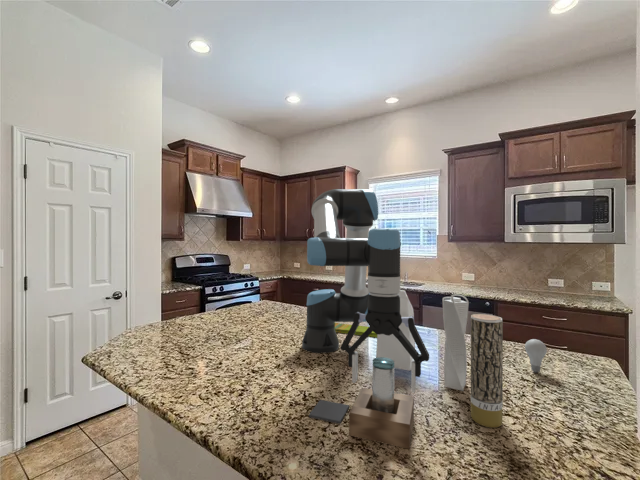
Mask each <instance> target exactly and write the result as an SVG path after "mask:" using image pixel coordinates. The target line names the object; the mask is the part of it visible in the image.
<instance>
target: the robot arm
mask: <svg viewBox="0 0 640 480" xmlns="http://www.w3.org/2000/svg"><path fill="white" fill-rule="evenodd" d="M311 215H312V216H311V217H313V218H312V219H314V220H313V222H314V223H313V224H314V226H313V227H314V229H313V232H314V234H313V235H314V236H313V237H310V238H308V239H307V240H306V241H307V245H306V246H307V247H306V251H307V252H306V260H307V261H306V262H307V264H308V265H310V266H319V267H344V285H343V286H342V287H341V288H340V292H336V291H335V290H334V289H332V288H328V289H326V288H325V289H318V290H317V289H316V290H313V291H311V292H309V293H308V294H307V297H306V304H305V305H306V329H305V332H304V334H303V339H302V341H301V348H302V349H303V351H305V352H309V353H314V354H329V353H333V352H336V351H337V350H339V348H340V349H341V351H343V352H346V353H347V356H348V357H347V365H348V367H349V368H351V369H352V370H351V382H352V383H353V384H356V382H357V381H358V379H359V352H358V351H356V350H357V349H358V348H359V346H360V345H361V344H362V343H364V341H366V339H367V338H369V337H368V336H369V335H370V334H371V333H372V331H373V332H375V333H376V334H379V335H380V334H384V335H389V336H390V335H392V334H393V335H394V336H395V337H396V338H397V339H398V340H399V341H400V343H401V344H402V345H403V347H404V348H405V349H406V350H407V352H408V353H409V354H410V355H411V357H412V358H413V359H412V364H411V371H410V372H411V373H410V375H411V387H410V388H411V390H410V391H411V393H415V394H416V388H417V387H416V386H417V384H416V383H417V381H416V380H417V379H416V377H418V378H421V376H422V375H421V374H422V370H421V369H422V362H428V361H429V360H430V353H429V351H428V348H427V347H426V346H425V343H424V341H423V339H422V337H421V335H420V333H419V330H418V329H417V327H416V322H415V316H414V317H413V316H410V317H401V315H400V297H399V295H398V294H399V293H400V290H401V246H402V242H401V232H400V231H399V230H398V229H397V228H387V227H386V228H372V227H373V226H374V222H375V221H377V220H378V218H379V203H378V199H377V194H376V193H375V192H374V191H373V189H363V188H359V189H358V188H357V189H356V188H354V189H353V188H352V189H349V188H347V189H345V188H341V189H340V188H335V189H329V190H326V191H324V192H322V193H321V194H320V195H318V196H317V197H316V198H315V199H314V201H313V202H312V205H311ZM338 221H342V226H343V227H345V228H346V229H345V230H346V235H345V237H341V236H340V229H339V223H338ZM371 228H372V229H371ZM363 322H367V324H368V327H369V328H368V329H367V330H366V331H365V332H364V333H363V334H362V335H361V336H358V338H357V340H356V341H354V343H353V344H352V345H350V343H351V341H352V339H353V337H354V336H355V335H354V333H355V332H356V330H357V328H358V326H360V325H361V324H360V323H363ZM335 323H352V324H351V325H352V326H351V328H350V330H349V332H348V334H346V336H345V338H344V339H343V342H342V344H341V345H340V342H339V338H338V335H337V334H338V333H336V331H335ZM401 323H404V324H405V326H406V327H409V330H410V332H411V335H412V337H413V339H414V341H415V346H417V349H418V351H419V352H420V353H419V352H418V351H417V349H416V347H415V348H414V347H413V346H412V344H411V343H410V342H409V340H408V339H407V338H406V337H405V335H404V334H403V333H402V331H401V330H400V328H399V326H400V324H401Z"/></svg>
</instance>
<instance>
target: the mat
mask: <svg viewBox="0 0 640 480" xmlns="http://www.w3.org/2000/svg"><path fill="white" fill-rule="evenodd" d="M349 408H350V404H346V403H345V404H344V403H339V402H335V401H329V400H324V399H319V400H318V402H317V403H316V404H315V406H314V407H313V408H312V410H311V411H310V413H309V414H308V417H309V418H312V419H316V420H322V421H326V422H328V423H335V424H340V425H341V423H342V421H343V420H344V418H345V417H346V414H347V413H348V412H349V411H348V410H349Z"/></svg>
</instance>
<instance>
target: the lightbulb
mask: <svg viewBox="0 0 640 480" xmlns="http://www.w3.org/2000/svg"><path fill="white" fill-rule="evenodd" d="M524 349H525V352H526V354H527V355H528V358H529V359H528V360H529V363H530V370H531V371H532V372H534V373H539V372H541V366H542V363H543V359H544V358H545V357H546V355H547V352H548V350H547V349H548V348H547V346H546V344H545V343H544V342H543V341H541V340H540V339H536V338H532V339H529V340H527V341H526V342H525V345H524Z"/></svg>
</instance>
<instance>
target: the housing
mask: <svg viewBox="0 0 640 480" xmlns="http://www.w3.org/2000/svg"><path fill="white" fill-rule="evenodd" d="M354 400H355V401H354V402H353V404H352V406H351V408H350V410H349V411H348V436H351V437H356V438H359V439H364V440H369V441H372V442H376V443H377V442H378V443H382V444H387V445H392V446H395V447H399V448H402V449H403V448H404V449H408V450H410V447H411V441H412V435H413V434H412V433H413V424H414V418H415V417H414V416H415V407H414V406H415V396H413V395H407V394H401V393H396V392H394V414H391V413H386V412H381V411H376V410H372V388H368V387H367V388H366V387H361V388H360V391H359V393H358V395H357V396H356V399H354Z"/></svg>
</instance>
